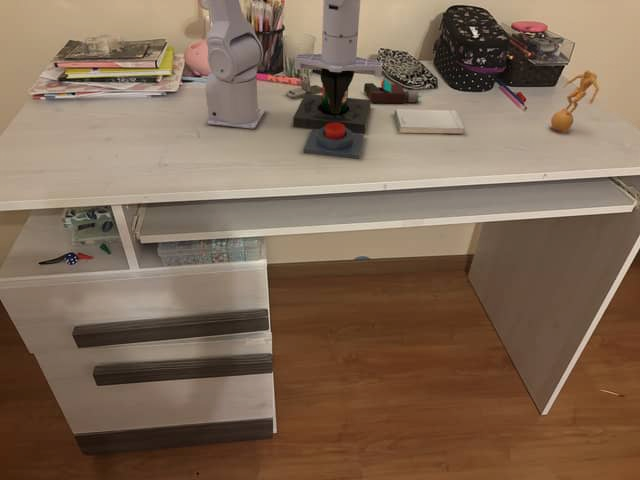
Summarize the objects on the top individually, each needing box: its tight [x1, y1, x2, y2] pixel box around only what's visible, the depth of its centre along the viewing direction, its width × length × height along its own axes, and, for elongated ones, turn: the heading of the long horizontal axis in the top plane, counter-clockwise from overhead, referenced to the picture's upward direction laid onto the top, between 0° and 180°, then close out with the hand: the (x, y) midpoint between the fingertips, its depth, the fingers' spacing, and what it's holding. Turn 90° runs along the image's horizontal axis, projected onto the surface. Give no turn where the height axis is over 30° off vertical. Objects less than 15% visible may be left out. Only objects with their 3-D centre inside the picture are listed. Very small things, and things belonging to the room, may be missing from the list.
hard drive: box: [394, 108, 465, 135], centre depth 102 cm, size 2×8×12 cm
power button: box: [325, 123, 345, 139], centre depth 93 cm, size 4×4×2 cm
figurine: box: [550, 69, 600, 132], centre depth 99 cm, size 8×6×12 cm
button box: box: [303, 127, 365, 160], centre depth 94 cm, size 10×8×2 cm
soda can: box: [321, 84, 349, 115], centre depth 100 cm, size 5×5×12 cm
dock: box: [292, 93, 372, 135], centre depth 103 cm, size 14×12×2 cm
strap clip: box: [286, 73, 322, 99], centre depth 112 cm, size 8×3×4 cm, turn 129°
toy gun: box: [363, 78, 422, 104], centre depth 112 cm, size 10×12×5 cm
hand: (335, 111), depth 90 cm, fingers closed
